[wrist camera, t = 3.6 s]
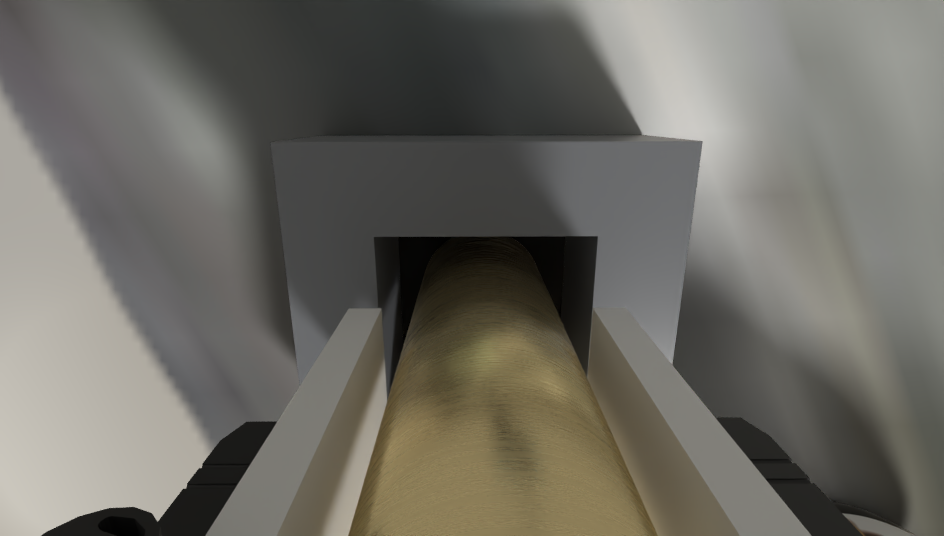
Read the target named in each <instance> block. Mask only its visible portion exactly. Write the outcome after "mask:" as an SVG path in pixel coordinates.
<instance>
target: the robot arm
mask: <svg viewBox="0 0 944 536" xmlns="http://www.w3.org/2000/svg"><path fill="white" fill-rule="evenodd" d="M587 379H588V381H589V383H590V386H591V388H592V390H593V392H594V395H595V397H596V399H597V401H598V403H599V406H600V408H601V410H602V412H603V415H604V417H605V419H606V421H607V424H608V426H609V428H610V430H611V432H612V435H613V437H614V439H615V441H616V444H617V446H618V448H619V450H620V452H621V455H622V457H623V459H624V461H625V464H626V466H627V468H628V470H629V473H630V475H631V477H632V479H633V481H634V484H635V486H636V488H637V490H638V493H639V495H640V497H641V499H642V502H643V504H644V506H645V508H646V510H647V513H648V515H649V517H650V519H651V522H652V524H653V526H654V528H655V531H656V533H657V535H658V536H863V535H862V534H861V533H860V532H859V531H858V530H857V529H856V528H855V526H854V525H853V524H852V523H851V522H850V521H849V520H848V519H847V518H846V517H845V516H844V515H843V514H842V513H841V512H840V511H839V509H838V508H837V507H836V506H835V505H834V504H833V503H832V502H831V501H830V500H829V499H828V498H827V497H826V496H825V495H824V493H823V492H822V491H821V490H820V489H819V488H818V487H817V486H816V485H815V484H811V483H810V481H809V478H808V476H807V475H806V474H805V473H804V472H803V471H802V470H801V469H800V468H799V467H798V466H797V465H796V464H795V463H792V462H791V458H790V457H789V456H788V455H787V454H786V453H785V452H784V451H783V450H782V449H781V448H780V447H779V446H778V445H777V443H776V442H775V441H774V440H773V439H772V438H771V437H770V436H769V435H767V434H765V433H764V432H762V431H761V430H759V429H757V428H756V427H754V426H753V425H751V424H750V423H748V422H746V421H745V420H743V419H742V418H715V417H714V416H713V414H712V413H711V412H710V411H709V409H708V408H707V407H706V406H705V405H704V403H703V402H702V401H701V400H700V398H699V397H698V396H697V395H696V393H695V392H694V391H693V390H692V389H691V387H690V386H689V385H688V384H687V382H686V381H685V380H684V379H683V378H682V376H681V375H680V374H679V373H678V371H677V370H676V369H675V368H674V367H673V365H672V364H671V363H670V362H669V360H668V359H667V358H666V357H665V356H664V354H663V353H662V352H661V351H660V349H659V348H658V347H657V346H656V344H655V343H654V342H653V341H652V340H651V338H650V337H649V336H648V335H647V333H646V332H645V331H644V330H643V329H642V327H641V326H640V325H639V324H638V322H637V321H636V320H635V319H634V318H633V316H632V315H631V314H630V313H629V311H628V310H627V309H626V308H593V313H592V326H591V338H590V351H589V364H588V377H587ZM386 404H387V391H386V374H385V358H384V342H383V325H382V309H381V308H355V309H348V311H347V312H346V314H345V315H344V317H343V319H342V320H341V322H340V323H339V325H338V326H337V328H336V330H335V331H334V333H333V334H332V336H331V338H330V339H329V341H328V342H327V344H326V345H325V347H324V349H323V350H322V352H321V353H320V355H319V357H318V358H317V360H316V361H315V363H314V364H313V366H312V368H311V369H310V371H309V372H308V374H307V376H306V377H305V379H304V380H303V382H302V383H301V385H300V387H299V388H298V390H297V391H296V393H295V395H294V396H293V398H292V399H291V401H290V402H289V404H288V406H287V407H286V409H285V410H284V412H283V414H282V415H281V417H280V418H279V420H278V422H246V423H244V424H243V425H242V426H240V427H239V428H237V429H236V430H235V431H233V432H232V433H230V434H229V435H228V436H226V437H225V438H223V439H222V440H221V441H220V442H219V443H218V444H217V446H216V447H215V448H214V450H213V451H212V452H211V453H210V455H209V456H208V457H207V459H206V460H205V461H204V463H203V466H202V468H199V469H198V470H197V472H196V473H195V474H194V476H193V477H192V478H191V479H190V481H189V482H188V483H187V488H186V489H183V490H182V491H181V492H180V494H179V495H178V496H177V498H176V499H175V500H174V502H173V503H172V504H171V505H170V507H169V508H168V509H167V511H166V512H165V513H164V515H163V516H162V517H161V518H160V520H159V521H158V522H157V521H156V519H155V518H154V516H153V514H152V513H149V512H147V511H143V510H141V509H138V508H135V507H126V508H109V509H104V510H101V511H97V512H94V513H90V514H86V515H83V516H79V517H77V518H75V519H73V520H71V521H69V522H67V523H64V524H62V525H60V526H58V527H56V528H54V529H52V530H50V531H48V532H46V533H44V534H43V535H42V536H348V535H349V531H350V528H351V524H352V521H353V517H354V514H355V510H356V507H357V504H358V500H359V497H360V493H361V490H362V486H363V483H364V479H365V476H366V473H367V469H368V466H369V462H370V459H371V455H372V452H373V449H374V445H375V442H376V438H377V435H378V431H379V428H380V424H381V421H382V418H383V414H384V411H385V407H386Z"/></svg>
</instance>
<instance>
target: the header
mask: <svg viewBox="0 0 944 536" xmlns="http://www.w3.org/2000/svg"><path fill="white" fill-rule="evenodd" d="M270 145H271V153H272V162H273V170H274V178H275V186H276V195H277V203H278V211H279V219H280V228H281V236H282V244H283V253H284V261H285V269H286V277H287V286H288V294H289V302H290V310H291V319H292V327H293V335H294V343H295V352H296V360H297V368H298V377H299V385H301V383H302V382H303V380H304V379H305V377H306V376H307V374H308V372H309V371H310V369H311V368H312V366H313V364H314V363H315V361H316V360H317V358H318V357H319V355H320V353H321V352H322V350H323V349H324V347H325V345H326V344H327V342H328V341H329V339H330V338H331V336H332V334H333V333H334V331H335V330H336V328H337V326H338V325H339V323H340V322H341V320H342V319H343V317H344V315H345V314H346V312H347V311H348V309H355V308H381V309H382V325H383V342H384V358H385V374H386V391H387V400H388V397H389V394H390V390H391V387H392V383H393V380H394V376H395V373H396V369H397V366H398V363H399V359H400V356H401V352H402V349H403V345H404V343H403V323H402V302H401V281H400V260H399V239H398V237H491V236H565V251H564V269H563V286H562V304H561V321H562V323H563V325H564V328H565V330H566V332H567V334H568V337H569V339H570V341H571V343H572V346H573V348H574V350H575V352H576V354H577V357H578V359H579V361H580V363H581V366H582V368H583V370H584V372H585V374H586V377H588V364H589V351H590V338H591V326H592V313H593V308H626V309H627V310H628V311H629V313H630V314H631V315H632V316H633V318H634V319H635V320H636V321H637V322H638V324H639V325H640V326H641V327H642V329H643V330H644V331H645V332H646V333H647V335H648V336H649V337H650V338H651V340H652V341H653V342H654V343H655V344H656V346H657V347H658V348H659V349H660V351H661V352H662V353H663V354H664V356H665V357H666V358H667V359H668V360H669V362H670V363H671V364H673V357H674V349H675V342H676V334H677V327H678V319H679V312H680V305H681V297H682V290H683V282H684V275H685V267H686V260H687V253H688V245H689V238H690V230H691V223H692V215H693V208H694V201H695V193H696V186H697V178H698V171H699V163H700V156H701V149H702V141H695V140H685V139H676V138H666V137H657V136H647V135H447V136H315V137H307V138H299V139H291V140H283V141H275V142H270Z"/></svg>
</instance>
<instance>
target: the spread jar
mask: <svg viewBox="0 0 944 536" xmlns="http://www.w3.org/2000/svg"><path fill="white" fill-rule="evenodd" d="M831 502H832V501H831ZM832 503H833V504H834V505H835V506H836V507H837V508H838V509H839V511H840V512H841V513H842V514H843V515H844V516H845V517H846V518H847V519H848V520H849V521H850V522H851V523H852V524H853V525H854V526H855V528H856V529H857V530H858V531H859V532H860V533H861V534H862V535H863V536H916V535H915V534H913V533H911V532H910V531H908V530H906V529H904V528H902V527H900V526H899V525H897V524H895V523H892V522H890V521H888V520H886V519H884V518H882V517H880V516H878V515H876V514H873V513H871V512H869V511H866V510H863V509H861V508H858V507H855V506H851V505H847V504H843V503H838V502H832Z"/></svg>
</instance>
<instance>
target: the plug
mask: <svg viewBox="0 0 944 536" xmlns="http://www.w3.org/2000/svg"><path fill="white" fill-rule="evenodd" d="M348 536H658V535H657V533H656V531H655V528H654V526H653V524H652V522H651V519H650V517H649V515H648V513H647V510H646V508H645V506H644V504H643V502H642V499H641V497H640V495H639V493H638V490H637V488H636V486H635V484H634V481H633V479H632V477H631V475H630V473H629V470H628V468H627V466H626V464H625V461H624V459H623V457H622V455H621V452H620V450H619V448H618V446H617V444H616V441H615V439H614V437H613V435H612V432H611V430H610V428H609V426H608V424H607V421H606V419H605V417H604V415H603V412H602V410H601V408H600V406H599V403H598V401H597V399H596V397H595V395H594V392H593V390H592V388H591V386H590V383H589V381H588V379H587V377H586V374H585V372H584V370H583V368H582V366H581V363H580V361H579V359H578V357H577V354H576V352H575V350H574V348H573V346H572V343H571V341H570V339H569V337H568V334H567V332H566V330H565V328H564V325H563V323H562V321H561V319H560V317H559V314H558V312H557V310H556V308H555V305H554V303H553V301H552V299H551V296H550V294H549V292H548V290H547V288H546V285H545V283H544V281H543V279H542V276H541V274H540V272H539V270H538V267H537V265H536V263H535V261H534V259H533V258H532V256H531V254H530V253H529V252H528V251H527V250H526V248H525V247H524V246H523V245H521V244H520V243H519V242H518V241H516V240H515V239H513V238H511V237H509V236H491V237H453V238H451V239H449V240H448V241H446V242H445V243H444V244H443V245H441V246H440V247H439V248H438V249H437V251H436V252H435V253H434V254H433V256H432V257H431V259H430V260H429V263H428V265H427V267H426V270H425V273H424V277H423V280H422V283H421V287H420V290H419V294H418V297H417V301H416V304H415V308H414V311H413V314H412V318H411V321H410V325H409V328H408V332H407V335H406V338H405V342H404V345H403V349H402V352H401V356H400V359H399V363H398V366H397V369H396V373H395V376H394V380H393V383H392V387H391V390H390V394H389V397H388V400H387V404H386V407H385V411H384V414H383V418H382V421H381V424H380V428H379V431H378V435H377V438H376V442H375V445H374V449H373V452H372V455H371V459H370V462H369V466H368V469H367V473H366V476H365V479H364V483H363V486H362V490H361V493H360V497H359V500H358V504H357V507H356V510H355V514H354V517H353V521H352V524H351V528H350V531H349V535H348Z"/></svg>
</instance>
